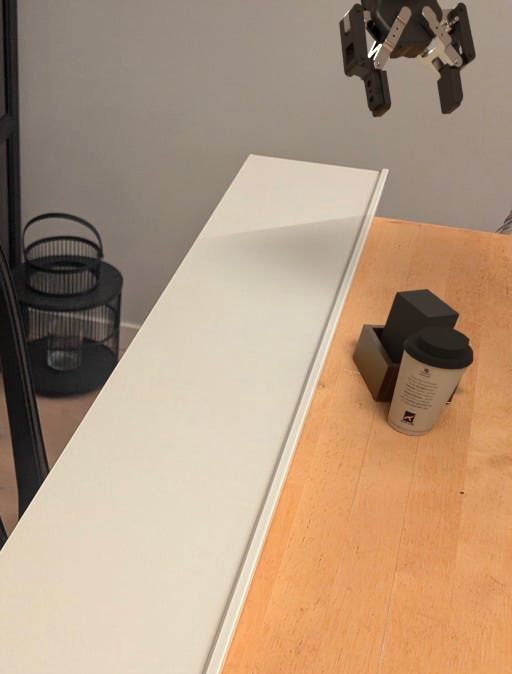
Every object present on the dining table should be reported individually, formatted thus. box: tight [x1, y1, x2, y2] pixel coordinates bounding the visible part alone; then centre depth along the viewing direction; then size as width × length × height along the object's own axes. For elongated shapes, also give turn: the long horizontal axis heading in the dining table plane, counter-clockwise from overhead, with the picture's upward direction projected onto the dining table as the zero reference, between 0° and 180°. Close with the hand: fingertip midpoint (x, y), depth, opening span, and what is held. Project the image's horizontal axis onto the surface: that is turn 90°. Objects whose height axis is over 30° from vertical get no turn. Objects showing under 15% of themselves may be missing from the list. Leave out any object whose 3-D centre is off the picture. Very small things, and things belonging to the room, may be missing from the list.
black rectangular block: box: [380, 288, 461, 364], centre depth 102 cm, size 4×6×8 cm, turn 17°
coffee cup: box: [386, 327, 474, 437], centre depth 95 cm, size 7×7×10 cm
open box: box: [352, 323, 462, 403], centre depth 104 cm, size 9×10×4 cm
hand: (417, 111), depth 95 cm, fingers open, 8 cm apart
